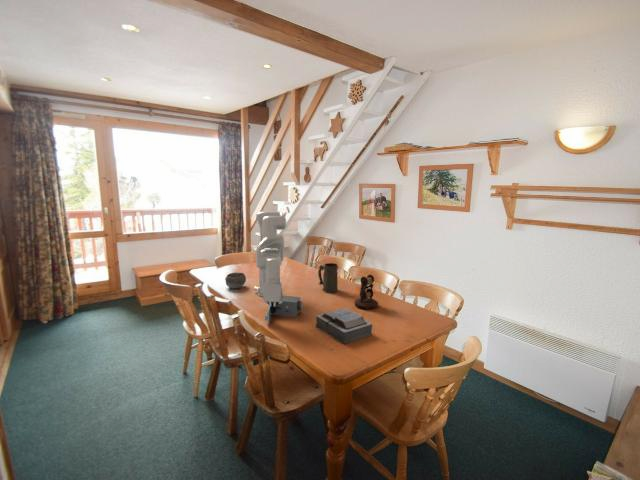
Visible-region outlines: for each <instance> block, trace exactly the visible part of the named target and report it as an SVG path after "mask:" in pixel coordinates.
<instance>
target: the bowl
mask: <svg viewBox="0 0 640 480" xmlns="http://www.w3.org/2000/svg"><path fill="white" fill-rule="evenodd" d="M224 279H225V285H226V286H227V287H228V288H229V289H234V290H236V289H239V288H242V287H243V286H244V285H245V283H246V281H247V277H246V275H245V273H244V272H237V271H236V272H231V273H228V274H226V276H225V278H224Z"/></svg>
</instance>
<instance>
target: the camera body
mask: <svg viewBox="0 0 640 480" xmlns="http://www.w3.org/2000/svg"><path fill="white" fill-rule="evenodd" d="M282 300H283V302H282V303H280V304H277V305H276V312H275V313H274V314H273V313H272V314H271V316H272V315H273V316H279V317H280V316H281V317H290V318H297V317H298V315H299V313H300V312H301V311H302V310H303V308H304V307H303V306H304V303H303V301H302V300H301V296H295V295H293V296H292V295H291V296H290V295H283V299H282ZM273 305H274V302H273Z"/></svg>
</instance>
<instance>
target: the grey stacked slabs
mask: <svg viewBox="0 0 640 480" xmlns="http://www.w3.org/2000/svg"><path fill="white" fill-rule="evenodd" d="M315 321H316V324H315V327H316V328H318V329H319V330H321V331H322V332H324V333H325V334H327V335H329V336H330V337H332V338H334V339H335V340H337V341H338V342H339V343H342V344H343V345H346V344H349V343H352V342H355V341H358V340H361V339H363V338H367V337H370V336H372V331H373V323H371V322H369V321H367V320H366V319H365V318H364V316H363V315H362V314H360V313H358V312H352V311H351V310H349V309H346V308H345V307H343V308H340V309H336V310H334V311H329V312H324V313H322V314H318V315H316V316H315Z"/></svg>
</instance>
